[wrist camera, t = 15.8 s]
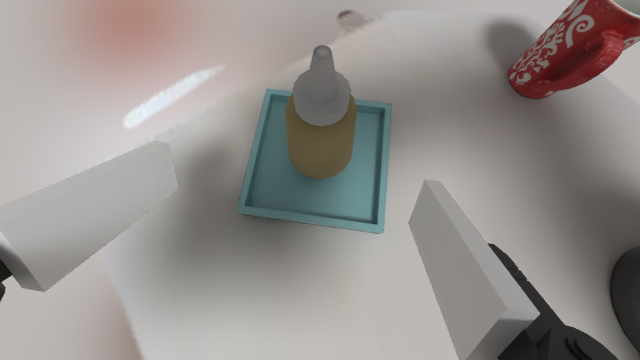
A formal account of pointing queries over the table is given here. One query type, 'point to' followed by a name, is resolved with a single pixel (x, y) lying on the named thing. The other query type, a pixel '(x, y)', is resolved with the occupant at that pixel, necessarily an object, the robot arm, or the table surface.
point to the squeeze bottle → (320, 119)
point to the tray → (312, 193)
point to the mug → (577, 46)
